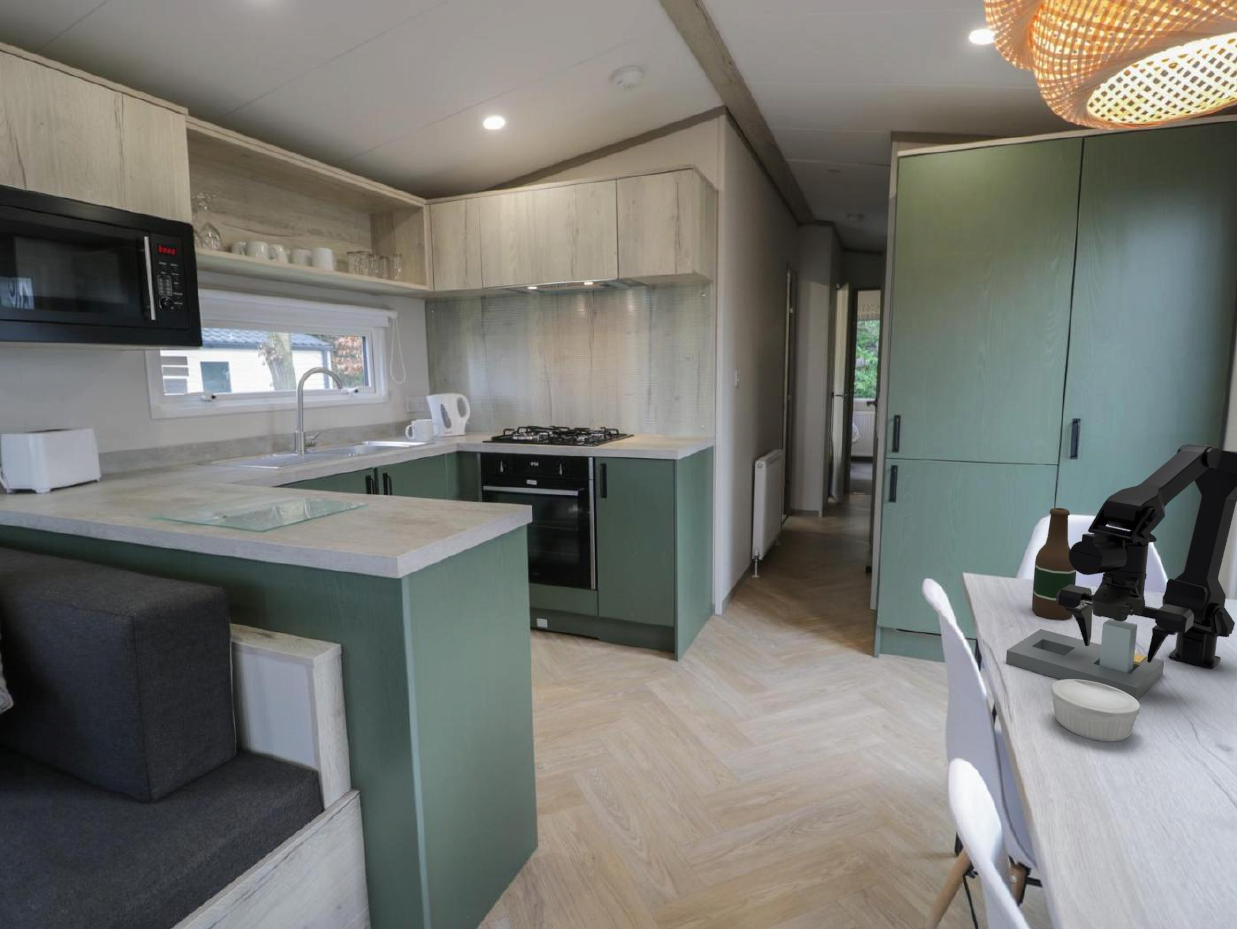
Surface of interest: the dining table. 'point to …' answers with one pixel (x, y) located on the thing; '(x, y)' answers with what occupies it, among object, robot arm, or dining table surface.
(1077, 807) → the dining table surface
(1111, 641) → the plug
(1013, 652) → the socket panel
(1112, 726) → the ramekin
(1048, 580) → the beer bottle
